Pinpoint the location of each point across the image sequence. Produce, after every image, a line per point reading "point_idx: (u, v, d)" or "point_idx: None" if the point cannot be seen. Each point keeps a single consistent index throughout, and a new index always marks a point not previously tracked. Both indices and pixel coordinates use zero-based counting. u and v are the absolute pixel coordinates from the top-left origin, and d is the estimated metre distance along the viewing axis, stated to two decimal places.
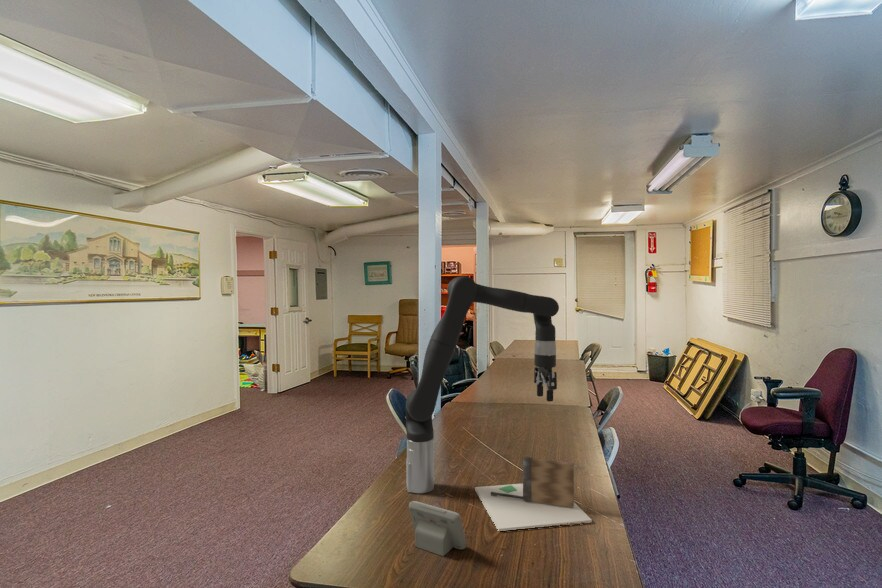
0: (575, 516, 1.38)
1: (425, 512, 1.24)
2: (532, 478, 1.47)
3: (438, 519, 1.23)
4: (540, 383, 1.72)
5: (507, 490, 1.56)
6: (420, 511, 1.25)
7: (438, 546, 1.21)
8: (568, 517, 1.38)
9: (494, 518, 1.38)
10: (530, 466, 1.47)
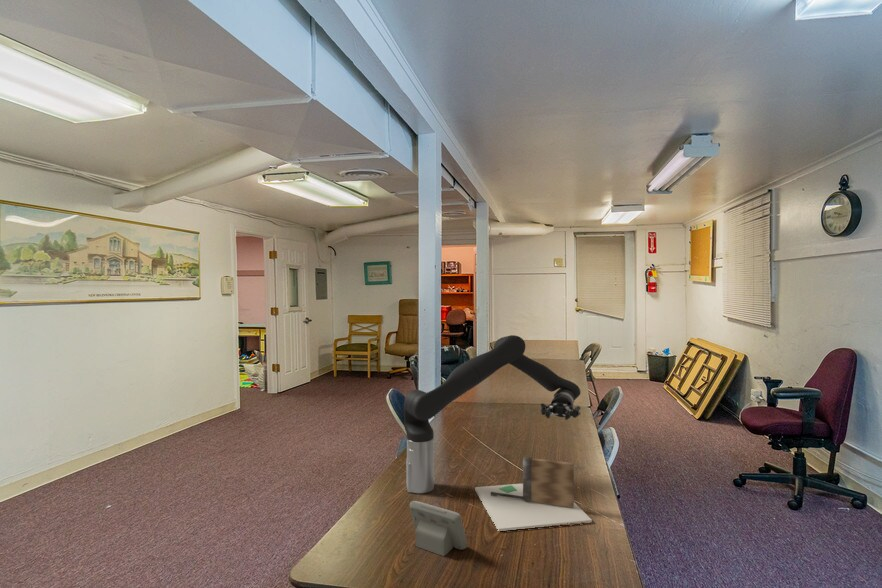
0: (575, 516, 1.38)
1: (425, 512, 1.24)
2: (532, 478, 1.47)
3: (438, 518, 1.23)
4: None
5: (507, 490, 1.56)
6: (421, 511, 1.25)
7: (439, 545, 1.21)
8: (568, 517, 1.38)
9: (494, 518, 1.38)
10: (530, 466, 1.47)
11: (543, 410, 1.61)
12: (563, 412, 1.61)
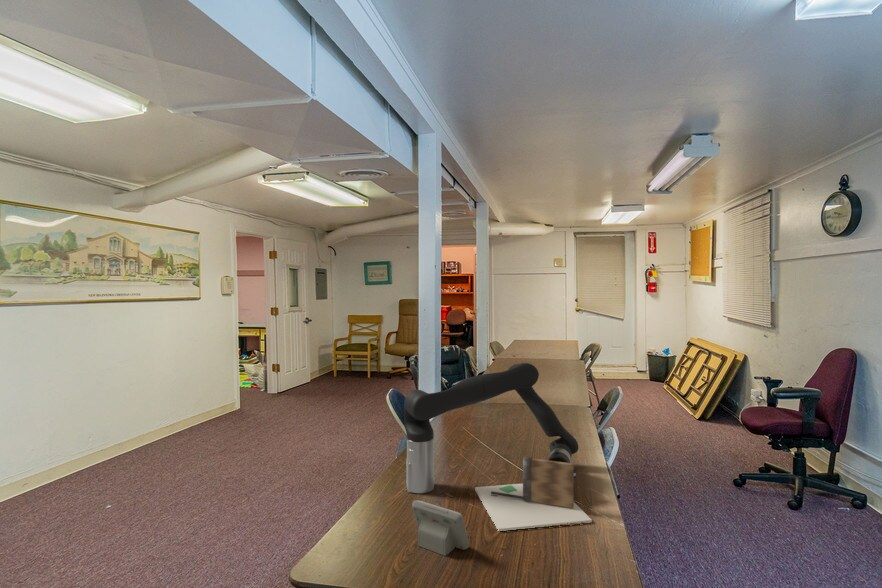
0: (575, 516, 1.38)
1: (427, 512, 1.25)
2: (532, 478, 1.47)
3: (440, 518, 1.23)
4: None
5: (507, 490, 1.56)
6: (423, 510, 1.26)
7: (441, 545, 1.21)
8: (568, 517, 1.38)
9: (494, 518, 1.38)
10: (530, 466, 1.47)
11: None
12: None
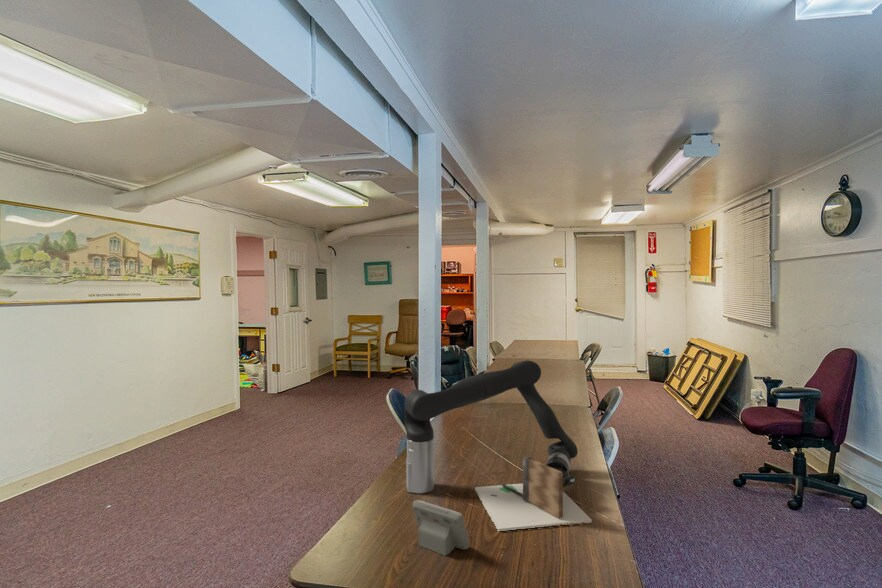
0: (575, 516, 1.38)
1: (428, 512, 1.25)
2: (529, 479, 1.47)
3: (441, 518, 1.23)
4: None
5: (507, 490, 1.56)
6: (423, 510, 1.26)
7: (441, 545, 1.21)
8: (568, 517, 1.38)
9: (494, 518, 1.38)
10: (527, 466, 1.47)
11: None
12: None
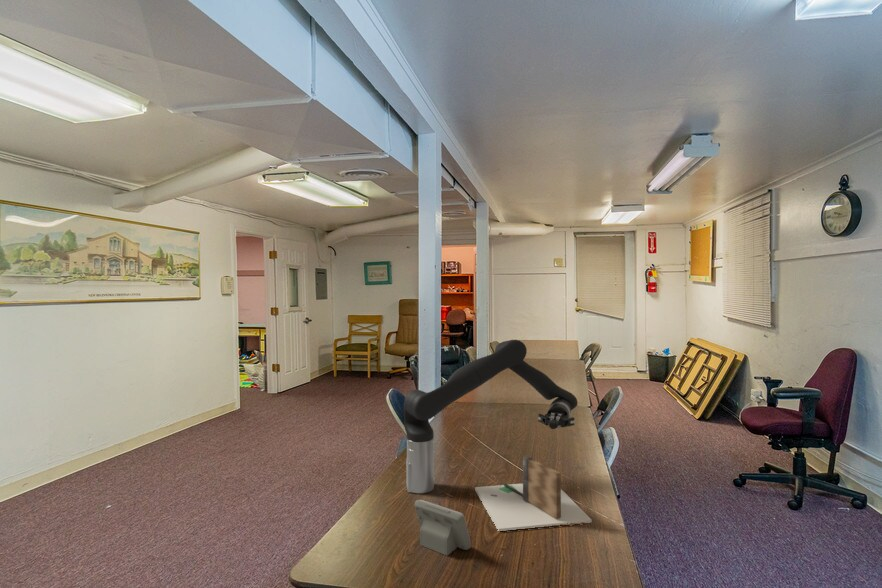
0: (575, 516, 1.38)
1: (430, 511, 1.25)
2: (528, 479, 1.47)
3: (442, 518, 1.23)
4: None
5: (507, 490, 1.56)
6: (425, 510, 1.26)
7: (442, 545, 1.21)
8: (568, 517, 1.38)
9: (494, 518, 1.38)
10: (527, 466, 1.47)
11: (548, 421, 1.60)
12: None
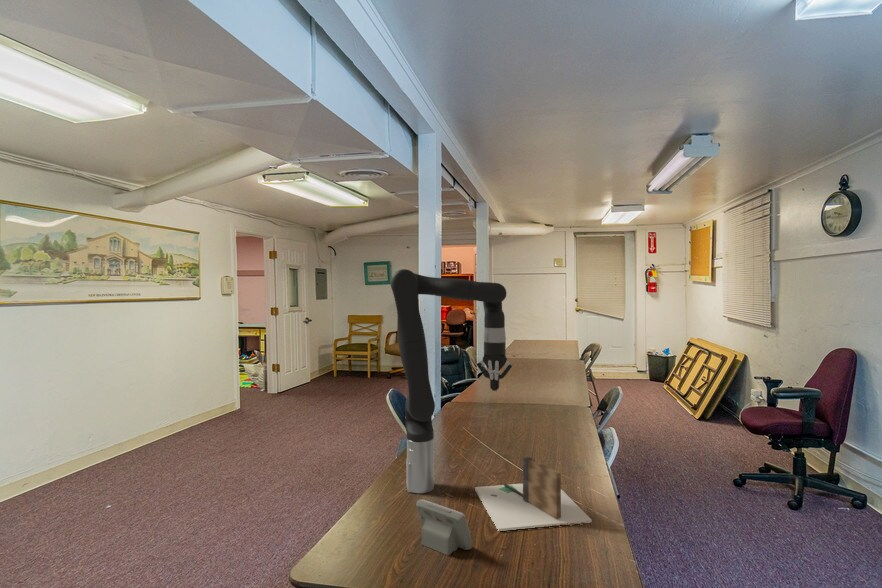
0: (575, 516, 1.38)
1: (431, 511, 1.25)
2: (528, 479, 1.47)
3: (444, 518, 1.23)
4: (492, 376, 1.64)
5: (507, 490, 1.56)
6: (427, 510, 1.26)
7: (444, 545, 1.21)
8: (568, 517, 1.38)
9: (494, 518, 1.38)
10: (527, 466, 1.47)
11: None
12: None
